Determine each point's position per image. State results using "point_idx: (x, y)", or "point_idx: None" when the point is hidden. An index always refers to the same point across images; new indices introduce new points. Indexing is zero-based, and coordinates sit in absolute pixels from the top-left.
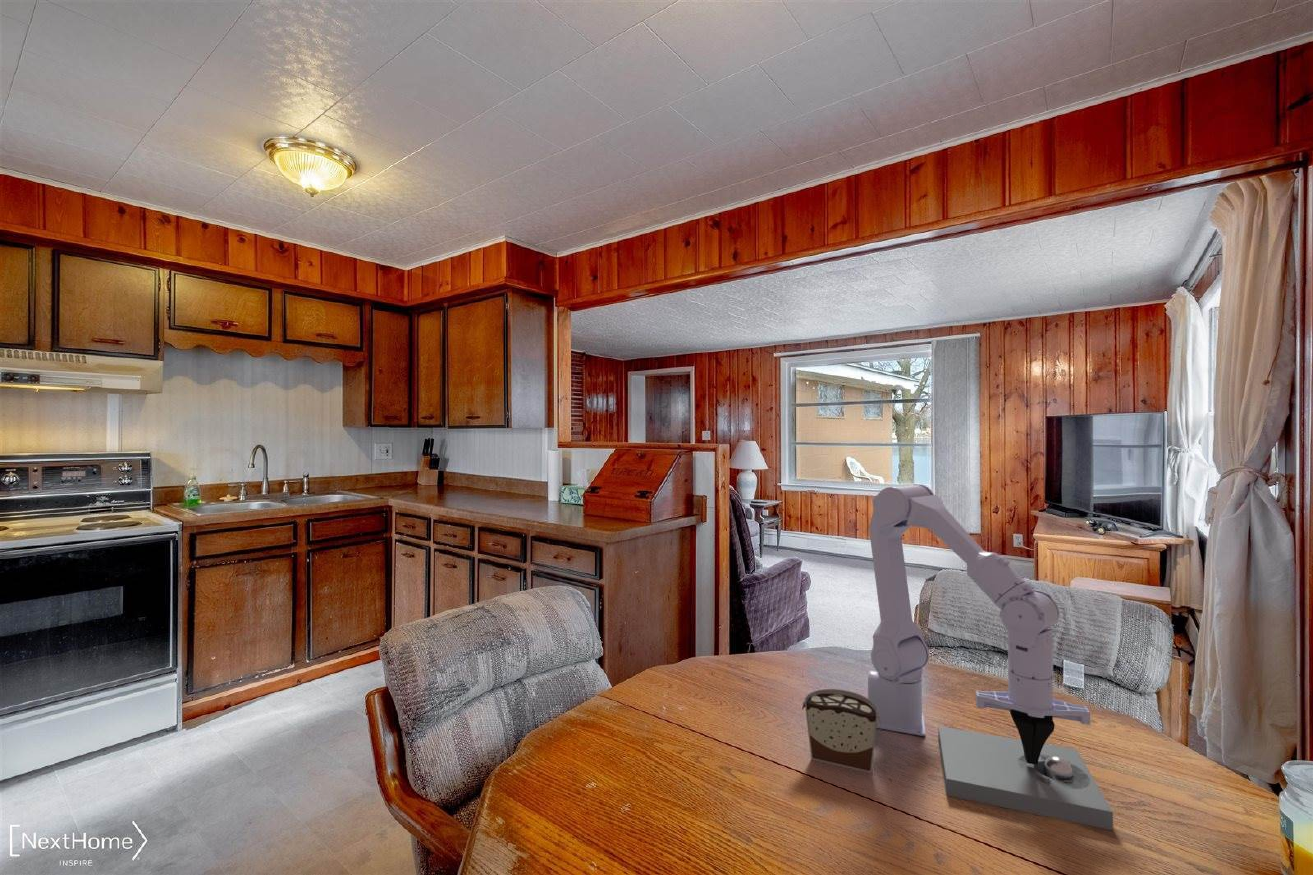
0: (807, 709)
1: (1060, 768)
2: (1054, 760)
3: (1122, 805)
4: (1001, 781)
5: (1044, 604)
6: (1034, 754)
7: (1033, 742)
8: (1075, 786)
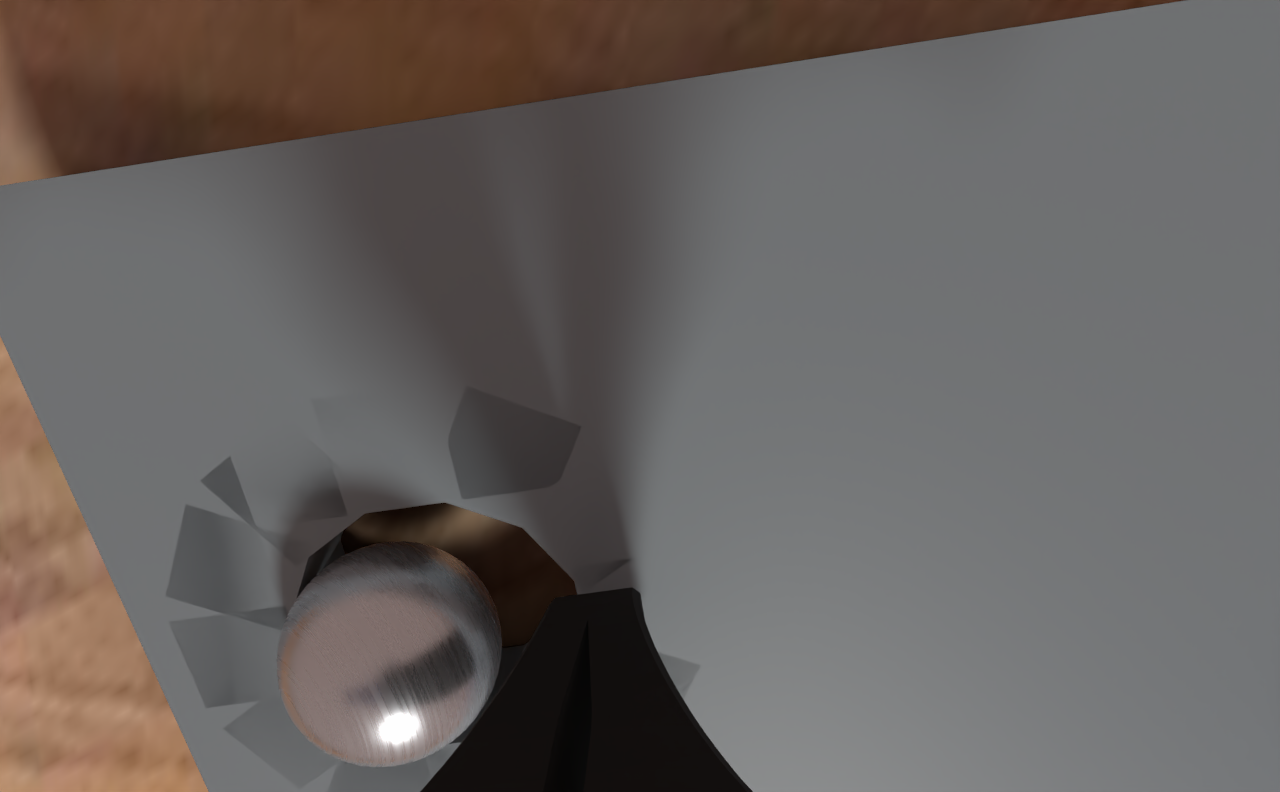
0: None
1: (355, 609)
2: (395, 680)
3: (50, 553)
4: (879, 215)
5: None
6: (568, 645)
7: (569, 773)
8: (261, 472)
